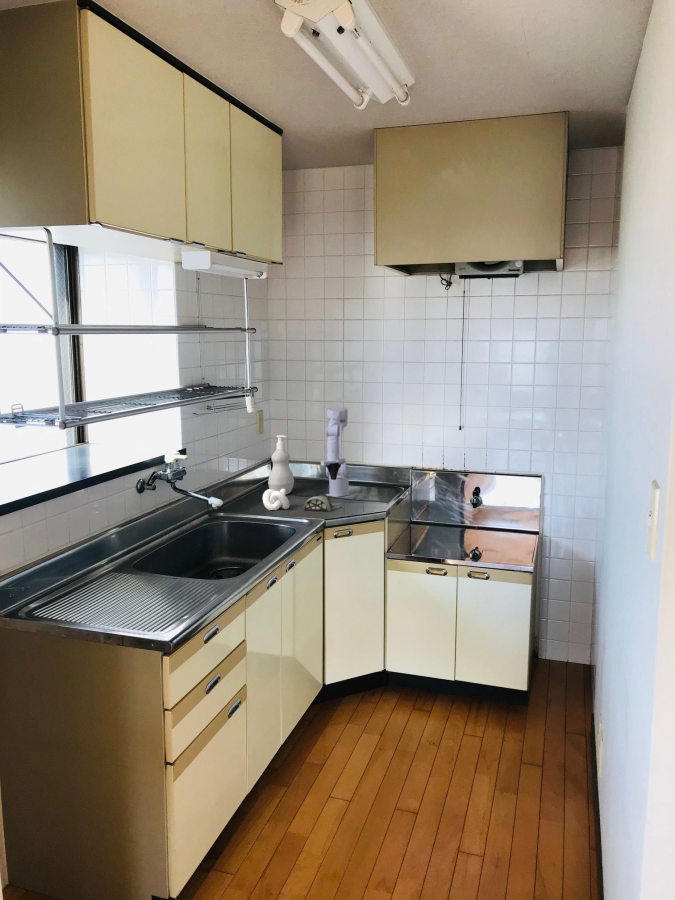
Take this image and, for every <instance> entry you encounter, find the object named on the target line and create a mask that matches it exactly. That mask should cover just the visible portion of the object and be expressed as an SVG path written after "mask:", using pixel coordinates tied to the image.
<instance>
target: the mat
mask: <svg viewBox="0 0 675 900" xmlns="http://www.w3.org/2000/svg"><path fill="white" fill-rule="evenodd" d="M304 505H305V504H303V505H302V506H303V507H304ZM340 506H341V505H340ZM340 506H339V505H334V504H333V506H332V508H331V509H330V511H332V510H336V509H341V508H340Z"/></svg>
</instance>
